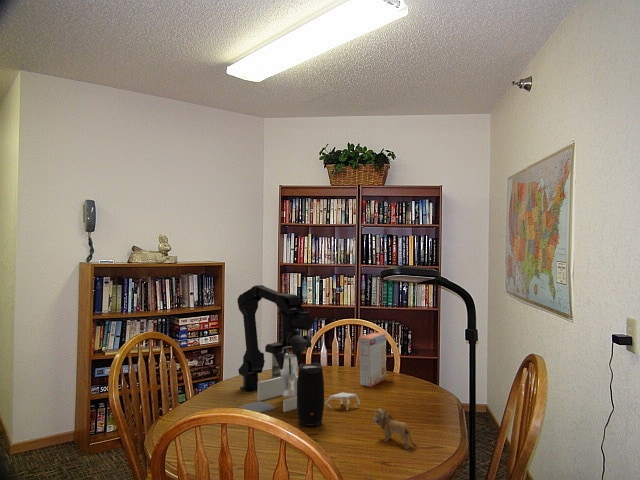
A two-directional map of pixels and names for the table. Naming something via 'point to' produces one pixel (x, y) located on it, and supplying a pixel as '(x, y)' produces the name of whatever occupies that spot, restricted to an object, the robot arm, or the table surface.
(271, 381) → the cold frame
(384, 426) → the lion figurine
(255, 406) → the slate mat
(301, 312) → the robot arm
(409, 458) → the table surface
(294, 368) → the beer glass
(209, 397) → the table surface
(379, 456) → the table surface
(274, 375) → the coffee box
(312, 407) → the portable speaker
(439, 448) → the table surface
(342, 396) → the white legged piece
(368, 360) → the cracker box
